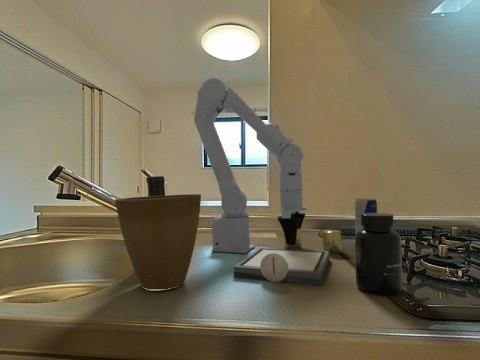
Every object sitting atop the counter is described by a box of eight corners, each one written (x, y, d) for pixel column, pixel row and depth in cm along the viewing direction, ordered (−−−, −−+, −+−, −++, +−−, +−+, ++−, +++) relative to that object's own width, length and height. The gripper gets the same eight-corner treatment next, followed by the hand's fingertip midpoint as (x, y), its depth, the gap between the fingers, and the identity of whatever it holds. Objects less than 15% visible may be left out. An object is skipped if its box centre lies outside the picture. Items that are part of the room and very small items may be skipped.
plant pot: (213, 272, 61) (210, 192, 61) (188, 302, 46) (184, 197, 46) (144, 271, 63) (141, 194, 63) (99, 299, 49) (95, 199, 49)
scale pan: (243, 268, 58) (243, 265, 58) (263, 252, 70) (263, 249, 70) (313, 274, 53) (313, 270, 53) (321, 255, 65) (321, 252, 65)
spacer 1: (283, 249, 78) (282, 230, 78) (286, 245, 82) (286, 227, 82) (300, 250, 76) (299, 230, 76) (303, 246, 80) (302, 227, 80)
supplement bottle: (401, 299, 44) (398, 217, 44) (352, 291, 48) (349, 216, 48) (404, 284, 50) (401, 212, 50) (360, 278, 54) (358, 211, 54)
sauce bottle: (180, 259, 72) (177, 175, 72) (163, 266, 66) (159, 175, 66) (158, 257, 75) (155, 176, 75) (140, 264, 69) (136, 176, 69)
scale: (232, 278, 56) (231, 251, 56) (259, 256, 72) (258, 235, 72) (320, 286, 51) (319, 256, 51) (329, 260, 66) (328, 237, 66)
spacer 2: (322, 253, 72) (321, 232, 72) (324, 249, 76) (323, 229, 76) (341, 254, 71) (340, 233, 71) (342, 250, 75) (341, 230, 75)
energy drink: (380, 247, 76) (379, 199, 76) (358, 247, 77) (356, 200, 77) (375, 243, 81) (374, 198, 81) (354, 243, 82) (352, 198, 82)
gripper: (301, 191, 71) (303, 249, 71) (310, 189, 84) (312, 237, 84) (272, 192, 73) (274, 248, 74) (285, 189, 87) (287, 236, 87)
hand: (293, 242), depth 79 cm, fingers closed on spacer 1, 4 cm apart
